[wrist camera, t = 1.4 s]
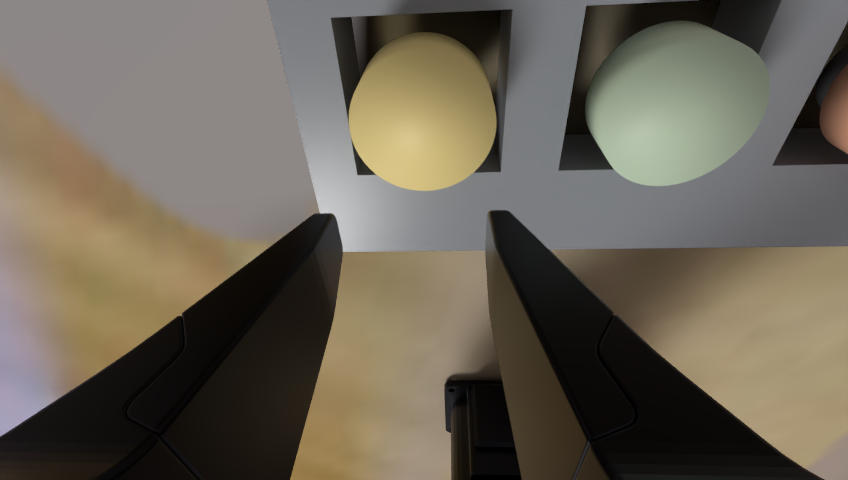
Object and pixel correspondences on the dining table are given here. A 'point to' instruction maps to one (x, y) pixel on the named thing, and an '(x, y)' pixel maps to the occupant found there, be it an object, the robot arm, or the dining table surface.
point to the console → (572, 139)
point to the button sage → (676, 102)
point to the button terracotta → (834, 100)
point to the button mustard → (423, 112)
